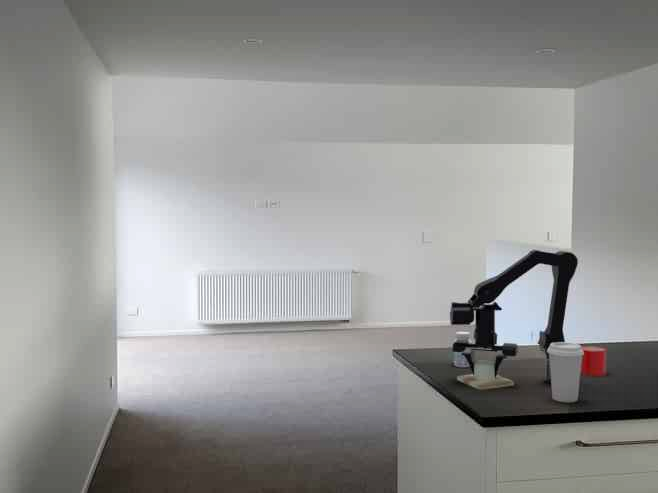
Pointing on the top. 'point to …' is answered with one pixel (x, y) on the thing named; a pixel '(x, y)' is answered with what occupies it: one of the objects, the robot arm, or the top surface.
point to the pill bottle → (458, 357)
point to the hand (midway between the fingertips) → (484, 376)
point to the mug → (593, 361)
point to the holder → (485, 382)
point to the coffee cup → (565, 370)
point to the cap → (484, 370)
